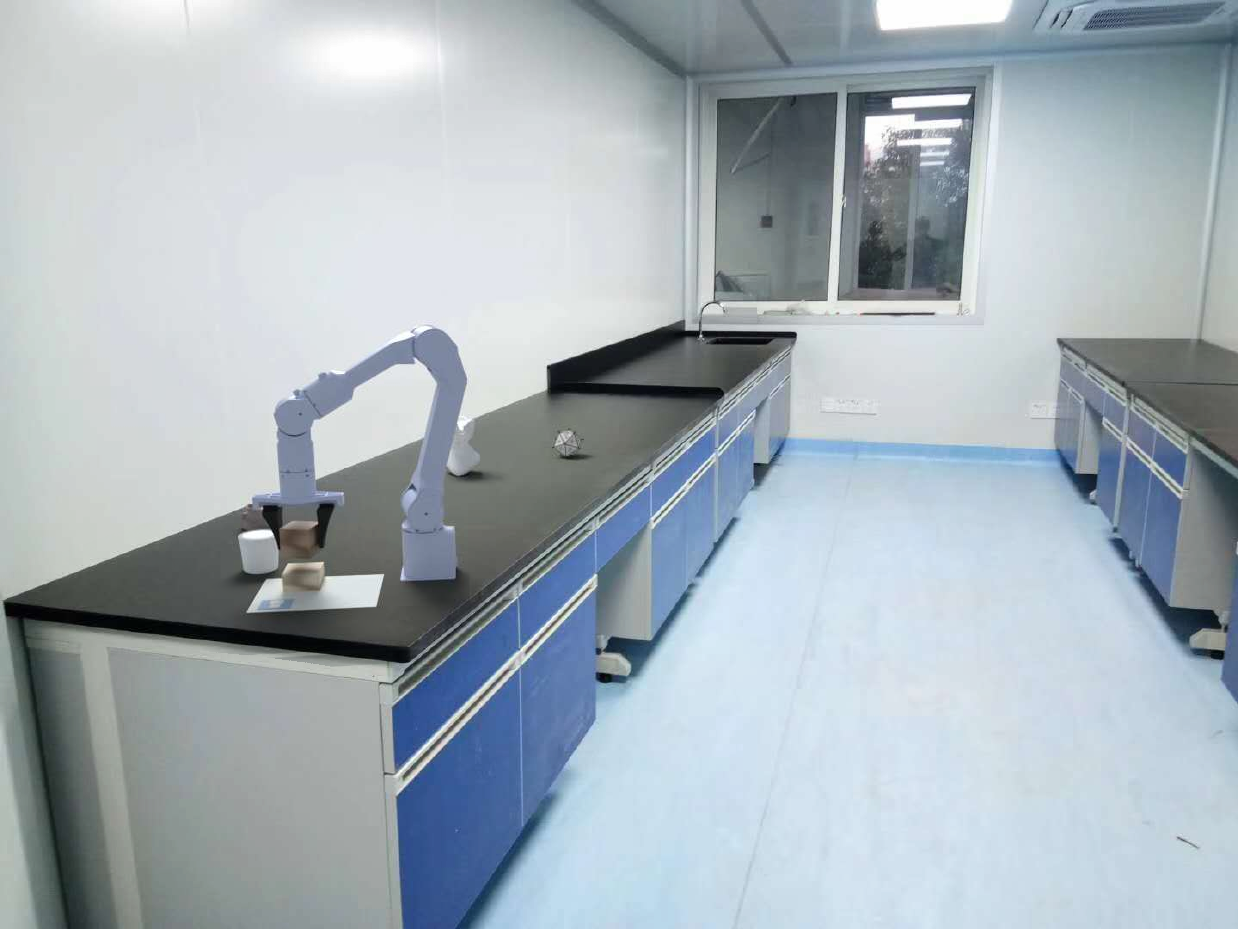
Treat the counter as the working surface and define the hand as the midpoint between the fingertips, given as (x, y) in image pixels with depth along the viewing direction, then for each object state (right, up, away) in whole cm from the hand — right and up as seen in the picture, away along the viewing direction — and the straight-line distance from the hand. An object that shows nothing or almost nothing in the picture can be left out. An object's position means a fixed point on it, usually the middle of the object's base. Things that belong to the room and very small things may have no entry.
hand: (301, 547), depth 161 cm
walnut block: (0, -1, 0) cm, 1 cm away
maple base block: (0, -7, +1) cm, 7 cm away
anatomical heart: (+13, +11, +85) cm, 86 cm away
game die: (+39, +16, +108) cm, 116 cm away
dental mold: (-20, 0, +36) cm, 41 cm away
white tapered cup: (-10, -5, +10) cm, 15 cm away
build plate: (+4, -8, -2) cm, 9 cm away
